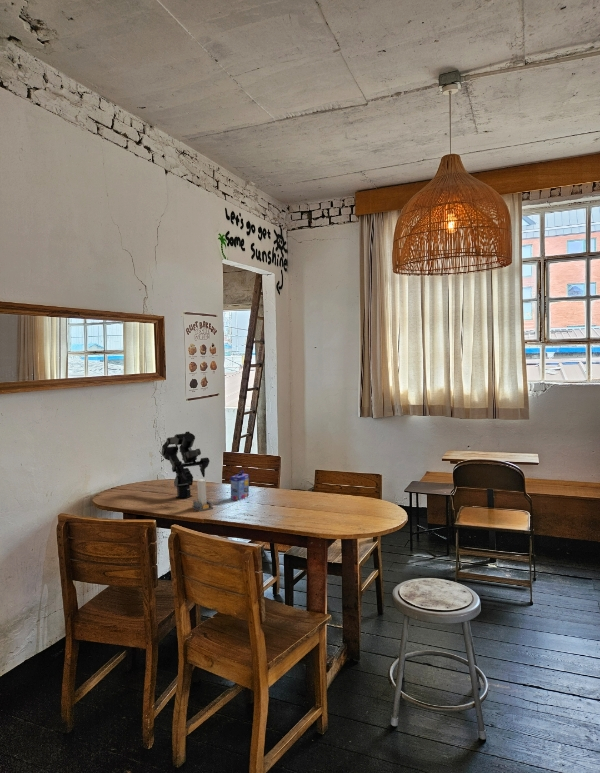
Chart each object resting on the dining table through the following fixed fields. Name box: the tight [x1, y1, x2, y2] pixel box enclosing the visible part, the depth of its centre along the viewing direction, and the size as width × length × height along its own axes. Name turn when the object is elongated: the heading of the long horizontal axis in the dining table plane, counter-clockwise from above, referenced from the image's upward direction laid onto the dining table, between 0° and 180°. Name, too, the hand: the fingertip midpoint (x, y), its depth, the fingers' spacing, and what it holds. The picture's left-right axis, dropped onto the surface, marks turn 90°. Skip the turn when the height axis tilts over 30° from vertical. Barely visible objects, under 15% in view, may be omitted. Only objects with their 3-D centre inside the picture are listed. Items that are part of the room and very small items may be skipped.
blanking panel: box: [196, 478, 208, 505], centre depth 258 cm, size 5×2×13 cm, turn 32°
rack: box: [192, 499, 214, 512], centre depth 258 cm, size 9×7×3 cm
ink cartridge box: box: [230, 470, 250, 501], centre depth 275 cm, size 10×6×14 cm, turn 152°
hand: (195, 478), depth 264 cm, fingers open, 9 cm apart
